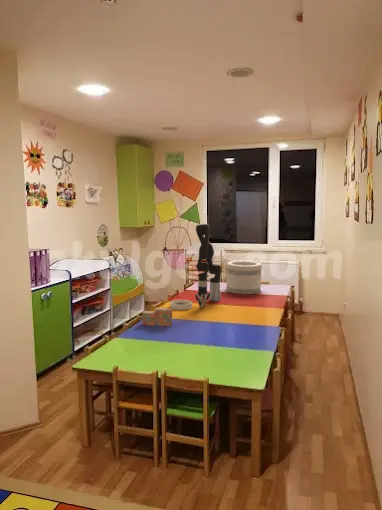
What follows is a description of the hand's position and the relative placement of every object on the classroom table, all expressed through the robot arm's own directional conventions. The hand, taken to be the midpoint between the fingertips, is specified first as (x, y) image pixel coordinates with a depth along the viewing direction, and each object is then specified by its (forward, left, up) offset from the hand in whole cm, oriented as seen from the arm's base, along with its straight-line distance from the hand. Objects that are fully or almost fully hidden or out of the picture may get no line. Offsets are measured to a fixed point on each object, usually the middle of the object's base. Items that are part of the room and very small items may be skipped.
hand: (202, 305), depth 356 cm
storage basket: (-67, -47, -3) cm, 82 cm away
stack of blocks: (+50, +31, -3) cm, 59 cm away
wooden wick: (0, 0, -1) cm, 1 cm away
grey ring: (+16, -8, -2) cm, 18 cm away
